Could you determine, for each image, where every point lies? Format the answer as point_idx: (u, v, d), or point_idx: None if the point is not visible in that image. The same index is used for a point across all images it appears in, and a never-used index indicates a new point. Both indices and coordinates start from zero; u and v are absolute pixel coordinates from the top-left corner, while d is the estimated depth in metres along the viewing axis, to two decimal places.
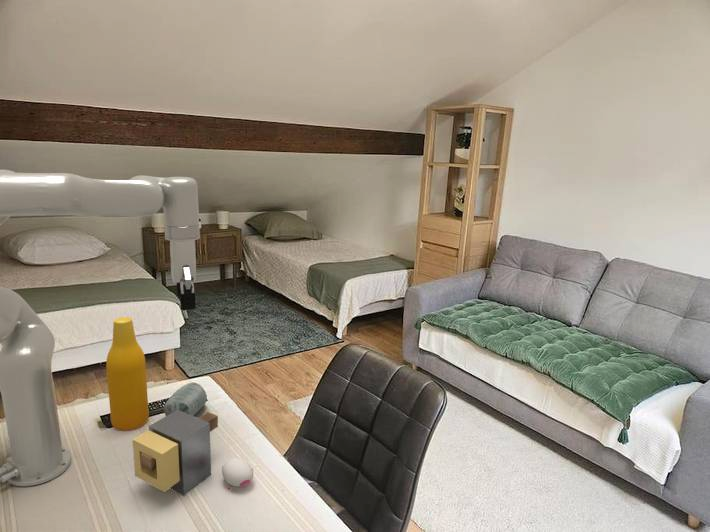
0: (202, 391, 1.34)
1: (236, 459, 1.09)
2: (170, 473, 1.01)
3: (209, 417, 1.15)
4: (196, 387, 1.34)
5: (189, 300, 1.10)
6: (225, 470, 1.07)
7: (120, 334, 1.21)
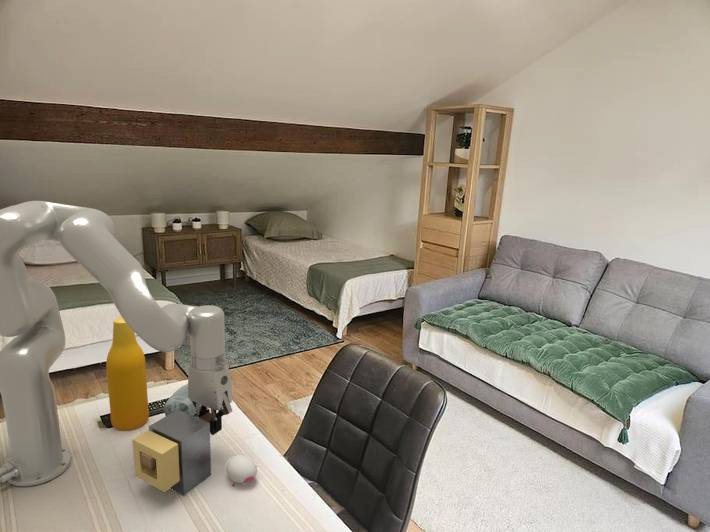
0: None
1: (240, 456, 1.10)
2: (170, 473, 1.01)
3: (209, 417, 1.15)
4: None
5: None
6: (229, 466, 1.08)
7: (120, 334, 1.21)
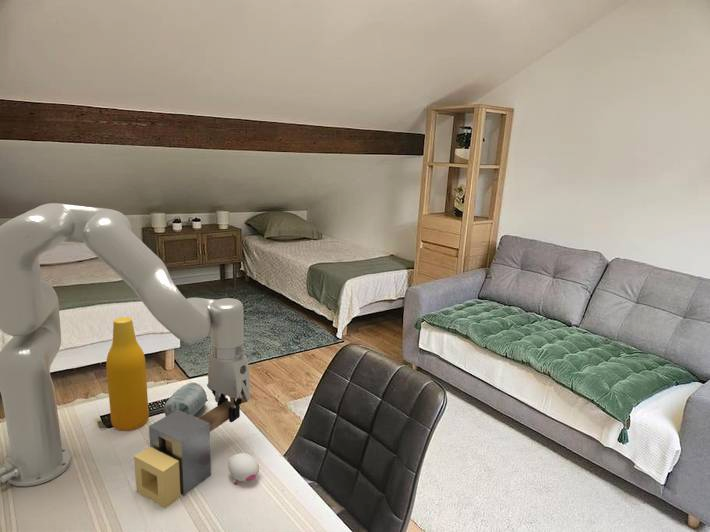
0: (202, 391, 1.34)
1: (242, 454, 1.11)
2: (171, 490, 1.02)
3: (227, 405, 1.20)
4: (196, 388, 1.34)
5: None
6: (231, 465, 1.09)
7: (120, 334, 1.21)
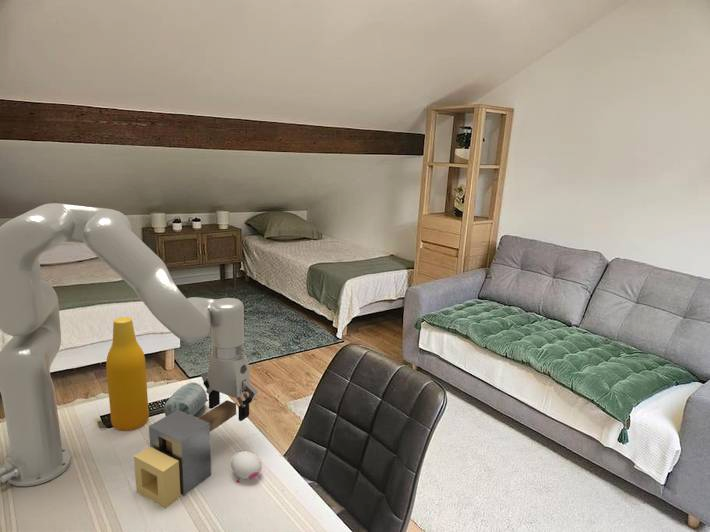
0: (202, 391, 1.34)
1: (245, 452, 1.12)
2: (171, 490, 1.02)
3: (228, 405, 1.20)
4: (196, 387, 1.34)
5: None
6: (234, 462, 1.10)
7: (120, 334, 1.21)
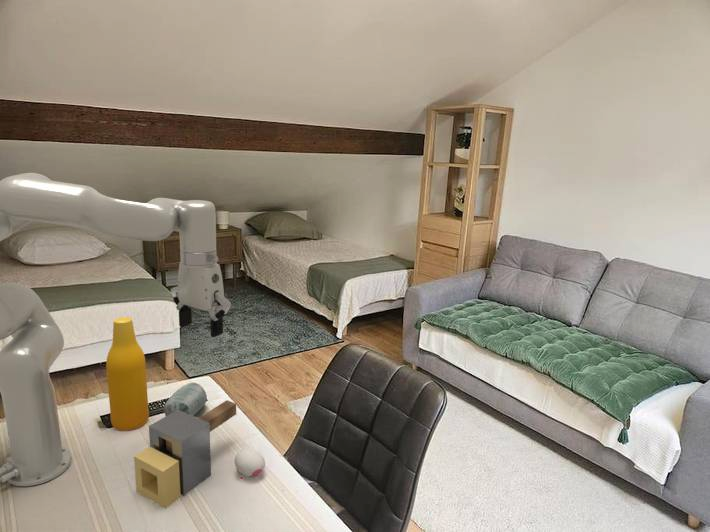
0: (202, 391, 1.34)
1: (248, 449, 1.13)
2: (171, 490, 1.02)
3: (228, 405, 1.20)
4: (196, 388, 1.34)
5: None
6: (238, 459, 1.11)
7: (120, 334, 1.21)
